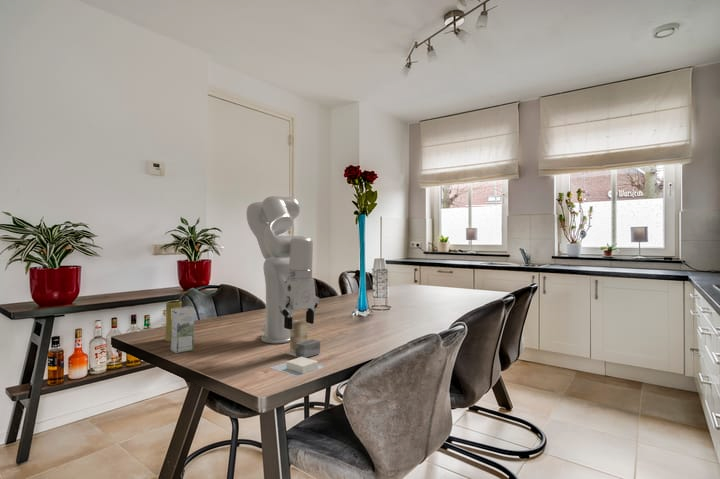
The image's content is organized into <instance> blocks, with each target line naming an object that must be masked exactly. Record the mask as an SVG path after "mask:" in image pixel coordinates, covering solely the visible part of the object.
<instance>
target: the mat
mask: <svg viewBox="0 0 720 479" xmlns="http://www.w3.org/2000/svg"><path fill="white" fill-rule="evenodd" d="M323 368H325V366H323V365H320V364H318V368H317V369H315V370H312V371H309V372H307V373H304V374H302V373H299V372H296V371H293V370H290V369H287V368H286V362H283V363H281V364H280V363H279V364H277V365H274V366H271V367H269V369H272V370H273V371H274V370H275V371H278V372H280V373H284V374H288V375H290V376H293V377H295V378H299V377H301V376H304V375H307V374H310V373H313V372H315V371H317V370H318V371H319V370H320V369H323Z"/></svg>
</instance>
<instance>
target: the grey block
mask: <svg viewBox="0 0 720 479" xmlns="http://www.w3.org/2000/svg"><path fill="white" fill-rule="evenodd" d="M289 352H294V353H296V356H295V357H297V356H298V357H297V358H299V357H304V358H309V357H313V356H316V355H318V354H321V341H320V340H318V339H313V338H311V339H308V323H307V322H306V321H304V320H298V319H297V320H292V329H291V330H290V342H289Z"/></svg>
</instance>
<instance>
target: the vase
mask: <svg viewBox="0 0 720 479" xmlns="http://www.w3.org/2000/svg"><path fill="white" fill-rule="evenodd" d="M165 304H166V305H165V334H164V341H165V342H169V343H171V308H179V307H183V306H182V305H183V302H182V300H168V301H166V303H165Z"/></svg>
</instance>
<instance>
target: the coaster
mask: <svg viewBox="0 0 720 479" xmlns="http://www.w3.org/2000/svg"><path fill="white" fill-rule="evenodd" d="M285 354H287V355H290V356H294V357H296V358H299V357H298V356H296V353H294V352H290V351H287V352H286V353H285Z"/></svg>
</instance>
